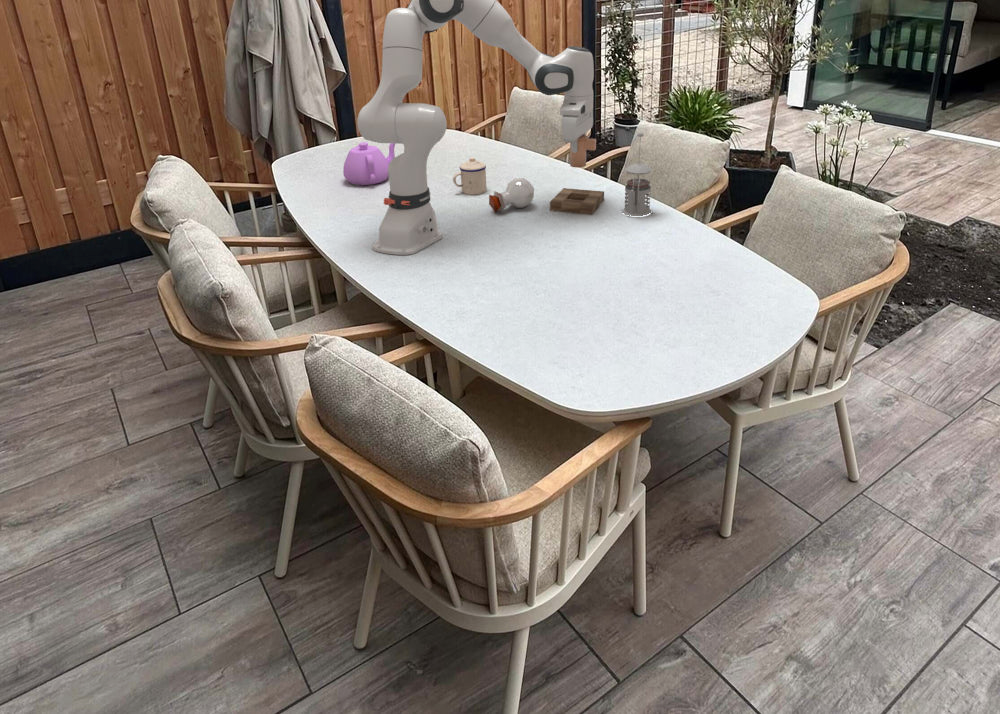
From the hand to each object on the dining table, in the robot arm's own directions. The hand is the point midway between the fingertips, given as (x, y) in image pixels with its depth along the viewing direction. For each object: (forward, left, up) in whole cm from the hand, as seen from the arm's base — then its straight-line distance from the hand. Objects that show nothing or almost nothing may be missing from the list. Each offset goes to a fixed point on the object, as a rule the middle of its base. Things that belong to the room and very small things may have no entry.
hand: (578, 149), depth 238 cm
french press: (-1, -20, -19) cm, 27 cm away
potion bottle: (-8, +20, -19) cm, 28 cm away
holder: (+1, 0, -19) cm, 19 cm away
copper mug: (0, -1, -5) cm, 5 cm away
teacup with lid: (+5, +40, -19) cm, 45 cm away
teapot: (+9, +81, -19) cm, 84 cm away
